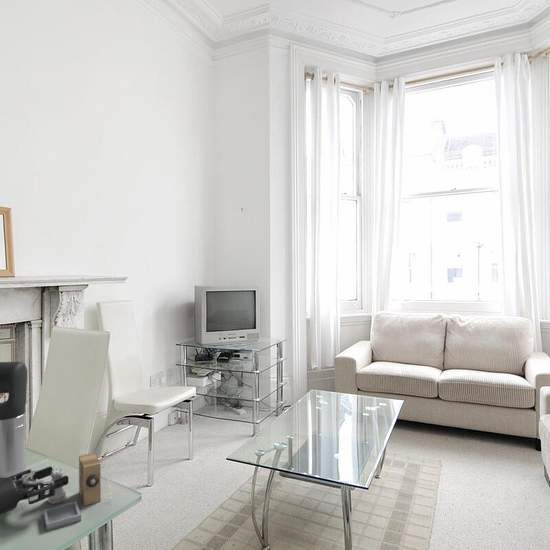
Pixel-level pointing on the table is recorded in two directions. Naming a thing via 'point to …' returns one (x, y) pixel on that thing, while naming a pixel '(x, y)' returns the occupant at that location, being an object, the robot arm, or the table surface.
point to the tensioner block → (89, 479)
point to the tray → (62, 515)
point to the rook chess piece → (59, 492)
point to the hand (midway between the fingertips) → (59, 474)
